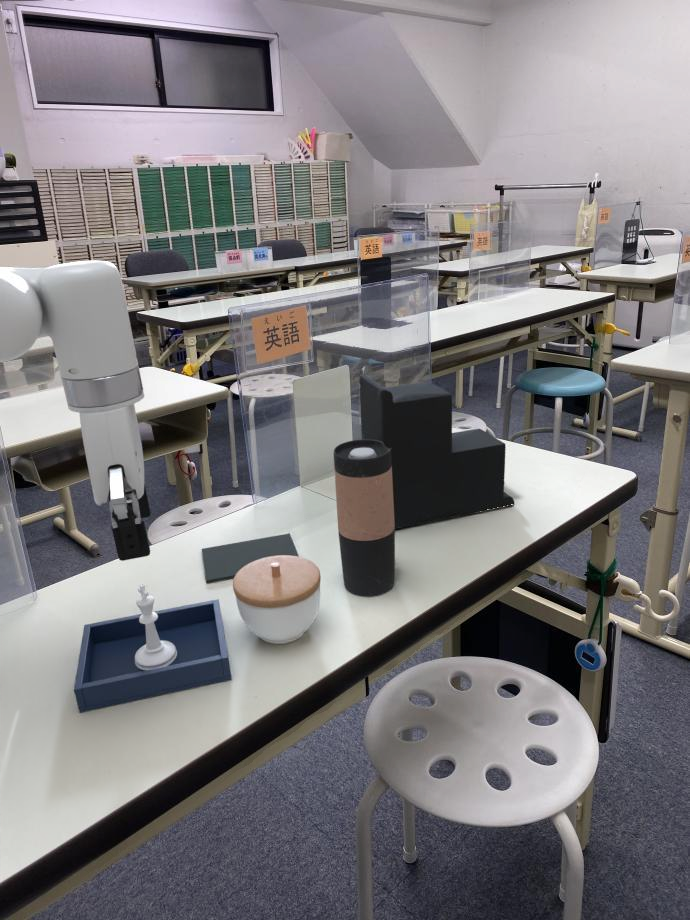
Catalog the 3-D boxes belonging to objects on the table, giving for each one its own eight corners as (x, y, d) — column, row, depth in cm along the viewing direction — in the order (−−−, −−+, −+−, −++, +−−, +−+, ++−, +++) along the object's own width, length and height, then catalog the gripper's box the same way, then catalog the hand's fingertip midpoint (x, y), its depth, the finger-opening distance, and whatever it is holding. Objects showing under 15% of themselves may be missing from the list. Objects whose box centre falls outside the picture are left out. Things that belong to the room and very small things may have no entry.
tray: (79, 713, 74) (73, 690, 73) (89, 645, 86) (84, 624, 85) (231, 679, 78) (228, 657, 77) (221, 619, 89) (218, 598, 88)
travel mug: (333, 593, 94) (323, 457, 86) (353, 565, 100) (345, 437, 93) (386, 601, 91) (380, 462, 84) (403, 572, 97) (399, 441, 90)
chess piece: (164, 639, 85) (151, 569, 81) (184, 656, 82) (171, 584, 78) (127, 658, 82) (112, 586, 78) (147, 676, 79) (131, 602, 75)
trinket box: (291, 596, 94) (285, 535, 90) (342, 629, 86) (337, 563, 82) (223, 629, 87) (214, 565, 84) (271, 668, 80) (263, 599, 76)
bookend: (484, 483, 124) (486, 356, 116) (515, 506, 115) (520, 370, 106) (363, 507, 118) (355, 374, 110) (385, 533, 109) (379, 391, 100)
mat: (206, 583, 98) (206, 580, 98) (201, 551, 107) (201, 548, 107) (302, 565, 101) (301, 562, 101) (289, 536, 110) (289, 533, 110)
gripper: (74, 373, 77) (106, 510, 83) (54, 417, 61) (95, 582, 67) (142, 364, 78) (168, 499, 85) (140, 405, 63) (172, 567, 69)
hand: (136, 536), depth 76 cm, fingers open, 9 cm apart
